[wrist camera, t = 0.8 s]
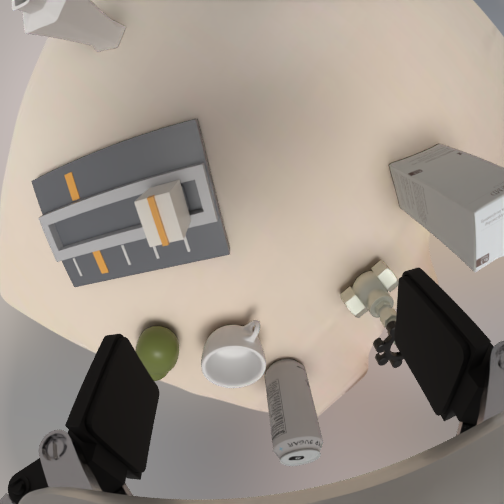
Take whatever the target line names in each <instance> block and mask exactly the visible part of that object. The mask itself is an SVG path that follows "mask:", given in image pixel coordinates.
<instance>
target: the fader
mask: <svg viewBox="0 0 504 504" xmlns="http://www.w3.org/2000/svg"><path fill="white" fill-rule="evenodd" d="M134 203H135V206H136V209H137V212H138V215H139V218H140V221H141V224H142V227H143V230H144V233H145V235H146V238H147V241H148V244H149V247H153V246H157V245H162V246H167V245H169V243H170V242H175V241H179V240H183V239H184V237H185V235H186V232H187V229H188V227H189V224H190V222H191V218H190V214H189V209H190V208H189V205H188V201H187V198H186V194H185V190H184V187H183V185H182V186H181V183H180V180H176V181H172V182H169V183H165V184H162V185H158V186H154V187H151V188H149V189H148V190H146V191H145V192H144V193H143V194H142V195H141V196H140V197H139V198H138V199H137V200H136V201H135V202H134Z"/></svg>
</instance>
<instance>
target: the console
mask: <svg viewBox="0 0 504 504" xmlns="http://www.w3.org/2000/svg"><path fill="white" fill-rule="evenodd" d="M176 180H180V183H181V186H182V185H183V187H184V190H185V194H186V198H187V201H188V205H189V208H190V209H189V214H190V218H191V222H190V224H189V227H188V229H187V232H186V235H185V237H184V239H183V240H179V241H175V242H170V243H169V245H167V246H162V245H157V246H153V247H149V244H148V241H147V238H146V235H145V233H144V230H143V227H142V224H141V221H140V218H139V215H138V212H137V209H136V206H135V203H134V202H135V201H136V200H137V199H138V198H139V197H140V196H141V195H142V194H143V193H144V192H145V191H146V190H148V189H149V188H151V187H154V186H158V185H162V184H165V183H169V182H172V181H176ZM32 184H33V188H34V191H35V194H36V197H37V200H38V203H39V205H40V208H41V211H42V214H43V215H42V216H41V217H39V220H40V223H41V226H42V228H43V231H44V233H45V236H46V238H47V241H48V243H49V245H50V248H51V250H52V252H53V255H54V257H55V259H56V261H57V262H58V261H62V262H63V265H64V267H65V269H66V271H67V273H68V275H69V277H70V279H71V281H72V283H73V285H74V287H78V286H83V285H87V284H92V283H97V282H102V281H106V280H111V279H116V278H120V277H125V276H130V275H135V274H139V273H144V272H149V271H154V270H158V269H163V268H168V267H172V266H177V265H182V264H187V263H191V262H196V261H201V260H206V259H210V258H215V257H220V256H225V255H229V254H230V247H229V243H228V239H227V235H226V231H225V227H224V224H223V220H222V216H221V212H220V208H219V204H218V200H217V196H216V192H215V188H214V184H213V180H212V176H211V172H210V168H209V164H208V160H207V156H206V152H205V148H204V144H203V140H202V136H201V132H200V127H199V123H198V119H193V120H190V121H186V122H182V123H179V124H175V125H172V126H168V127H165V128H162V129H159V130H155V131H152V132H149V133H146V134H143V135H140V136H137V137H134V138H131V139H128V140H126V141H123V142H120V143H117V144H115V145H112V146H109V147H107V148H104V149H102V150H99V151H97V152H94V153H92V154H89V155H87V156H84V157H82V158H80V159H77V160H75V161H73V162H70V163H68V164H66V165H64V166H62V167H59V168H57V169H55V170H53V171H51V172H49V173H47V174H45V175H43V176H41V177H39V178H37V179H35V180H33V181H32Z"/></svg>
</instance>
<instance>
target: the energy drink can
mask: <svg viewBox="0 0 504 504" xmlns="http://www.w3.org/2000/svg"><path fill="white" fill-rule="evenodd" d="M265 383H266V392H267V400H268V409H269V417H270V426H271V435H272V443H273V451H274V453H275V454H276V455H277V456H278V457H279V459H280V463H281V464H283V465H287V466H298V465H304V464H307V463H310V462H313V461H315V460H316V459H318V458H319V457H320V454H321V453H320V450H321V447H322V444H323V440H322V435H321V431H320V427H319V423H318V418H317V414H316V410H315V406H314V402H313V398H312V394H311V390H310V386H309V382H308V378H307V374H306V370H305V367H304V366H303V365H302V364H300V363H298V362H297V361H295V360H292V359H283V360H279V361H276V362H275V363H273V364H272V365H271V366H270V367H269V369H268V370H267V371H266V373H265Z"/></svg>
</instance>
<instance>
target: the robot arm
mask: <svg viewBox="0 0 504 504" xmlns="http://www.w3.org/2000/svg"><path fill="white" fill-rule="evenodd" d="M394 339H395V344H396V346H397V348H398V349H399V351H400V353H401V354H402V356H403V358H404V359H405V361H406V363H407V364H408V366H409V368H410V369H411V371H412V373H413V374H414V376H415V378H416V380H417V382H418V383H419V385H420V387H421V389H422V390H423V392H424V394H425V396H426V397H427V399H428V401H429V402H430V405H431V407H432V408H433V410H434V412H435V413H436V415H438V416H439V415H441V416H442V418H443V420H444V421H446V420H448V419H450V418H452V417H453V416H457V418H458V420H459V421H460V422H459V426H458V430H457V434H456V436H455V437H453V438H451V439H450V440H447V441H445V442H443V443H442V444H439V445H437V446H435V447H433V448H431V449H428V450H426V451H424V452H422V453H419V454H417V455H415V456H412V457H410V458H408V459H405V460H403V461H400V462H398V463H395V464H392V465H390V466H387V467H384V468H381V469H378V470H376V471H373V472H369V473H366V474H363V475H360V476H357V477H353V478H350V479H346V480H343V481H339V482H335V483H331V484H327V485H323V486H319V487H314V488H309V489H304V490H299V491H293V492H288V493H281V494H274V495H266V496H258V497H248V498H235V499H216V500H179V499H160V498H147V497H138V496H133V495H132V493H131V491H130V490H129V488H128V487H127V485H126V484H125V479H126V478H130V479H141V474H142V472H144V471H145V469H146V463H147V457H148V451H149V446H150V440H151V435H152V429H153V424H154V419H155V414H156V409H157V403H158V399H159V389H158V387H157V385H156V383H155V382H154V380H153V379H152V377H151V376H150V374H149V373H148V371H147V369H146V368H145V366H144V365H143V363H142V361H141V360H140V358H139V357H138V355H137V353H136V352H135V350H134V348H133V347H132V345H131V343H130V341H129V340H128V338H126V337H123V335H121V334H114V335H107V336H105V337H104V339H103V341H102V343H101V345H100V347H99V349H98V351H97V353H96V355H95V358H94V360H93V362H92V364H91V366H90V369H89V371H88V373H87V375H86V377H85V380H84V382H83V384H82V386H81V389H80V391H79V393H78V395H77V398H76V401H75V403H74V405H73V407H72V410H71V412H70V415H69V418H68V420H67V422H66V427H67V428H68V429H69V431H68V433H66V432H65V431H63V430H54V431H52V432H50V433H49V434H47V435H46V436H45V437H44V438H43V440H42V441H41V444H40V446H39V456H40V458H39V459H38V460H36V461H35V462H33V463H31V464H30V465H29V466H27V467H25V468H24V469H22V470H21V471H19V472H18V473H16V474H15V475H14V476H13V477H12V478H11V480H10V481H9V485H8V493H9V495H8V494H5V495H4V496H3V497H2V498H1V500H0V504H504V341H501V342H499V343H498V344H496V345H495V346H493V345H492V344H491V343H490V342H491V341H490V340H489V339H488V338H487V336H486V335H485V334H484V333H483V332H482V331H481V329H480V328H479V327H478V326H477V325H476V324H475V323H474V322H473V321H472V320H471V319H470V317H469V316H468V315H467V314H466V313H465V312H464V311H463V310H462V309H461V308H460V307H459V306H458V305H457V304H456V303H455V302H454V301H453V300H452V299H451V298H450V297H449V296H448V295H447V294H446V293H445V292H444V291H443V290H442V289H441V288H440V287H439V286H438V285H437V284H436V283H435V282H434V281H433V280H432V279H431V278H430V277H429V276H428V275H427V274H426V273H425V272H424V271H423V270H422V269H420V268H415V269H412V270H409V271H405V272H404V273H403V275H402V277H400V278H399V282H398V300H397V314H396V325H395V335H394Z"/></svg>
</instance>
